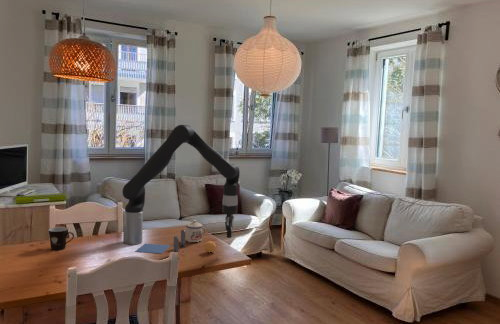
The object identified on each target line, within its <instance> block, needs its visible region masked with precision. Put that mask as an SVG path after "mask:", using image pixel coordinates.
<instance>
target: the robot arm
mask: <svg viewBox="0 0 500 324" xmlns="http://www.w3.org/2000/svg"><path fill="white" fill-rule="evenodd" d="M184 143H187V144H188V145H190V146H191V147H193V148H194V149H195V150H197V151H198V154H200V155H201V156H202V158H203V159H204V160H205V161H207V163H209V164H210V165H212V167H213V168H215V169H216V171H218V172H219V174H221V176H222V177H224V178H225V183H224V185H223V196H222V209H221V210H222V213H223V214H225V215H226V216H225V219H224V220H225V222H224V224H225V230H226V238H228V239H231V238H232V236H233V235H232V234H233V233H232V231H233V228H234V219H235V216H234V215H237V213H238V206H239V205H238V204H239V203H238V185H239V181H240V180H239V179H240V174H241V173H240V167H239V166H238V165H237V164H235V163H229V162H228V161H227V160H226V158H225V156H223V154H221V153H220V152H218V150H216V149H215V148H213V146H211V145H210V144H208V142H206V141H205V140H204V139H203V138H202V137H201V136H200V135H199V134H198V133H197V132H196V130H195V129H194V128H193V127H192V126H190V125H188V124H178V125H176V126H175V127H174V128H173V129H172V130H171V133H169V135H168V136H167V138H166V139H165V141H163V143H162V144H161V145H160V146H159V147H158V148H157V149H156V151H155V152H154V153H153V154H152V155H151V156H150V157H149V158H148V160H147V161H146V162H145V163H144V165H143V166H142V167H141V168H140V169H139V171H138V172H137V173H135V175H134V176H133V177H132V178H131V179H129V180H128V181H127V182H126V183H125V184H124V186H123V187H122V196H123V197H124V198H125V199H126V200H128V202H127V204H126V205H125V208H124V225H123V227H122V229H123V230H122V231H123V233H122V243H123V244H126V245H139V244H142V243H143V229H144V228H143V226H144V225H143V221H144V219H143V217H144V216H143V215H144V212H143V211H144V206H145V201H146V188H145V186H146V184H148V183H149V182H151V180H153V179H154V178H156V177H157V176H159V175H160V174H161V173H162V172H163V171H164V170H165V169H166V167H168V164H170V161H171V160H172V157H173V155H174V154H175V152H176V151H177V150H178V148H180V147H181V146H182V145H183V144H184Z"/></svg>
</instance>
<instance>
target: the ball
mask: <svg viewBox="0 0 500 324" xmlns="http://www.w3.org/2000/svg"><path fill="white" fill-rule="evenodd" d="M203 247H204V251H205V253H207V252H209V253H208V254H211V253H210V252H213V253H214V252H215V251H216V250H217V245H216V243H215V242H214V241H211V240H210V241H209V240H208V241H207V242H205V243H204V246H203Z"/></svg>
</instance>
